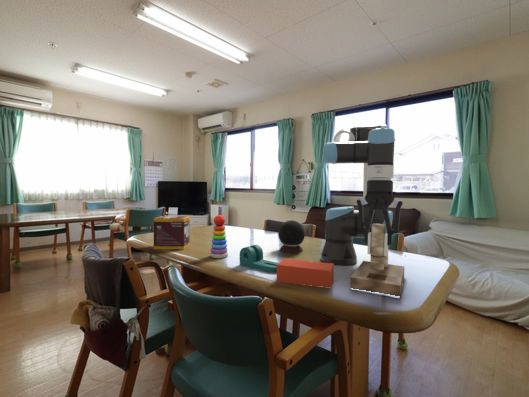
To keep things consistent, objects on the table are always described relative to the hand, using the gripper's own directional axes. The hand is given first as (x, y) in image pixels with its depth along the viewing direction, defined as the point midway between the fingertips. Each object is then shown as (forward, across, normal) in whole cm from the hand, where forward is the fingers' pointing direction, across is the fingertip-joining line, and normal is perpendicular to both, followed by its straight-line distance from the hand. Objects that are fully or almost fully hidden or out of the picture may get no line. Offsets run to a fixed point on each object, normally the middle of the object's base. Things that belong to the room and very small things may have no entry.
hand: (377, 253), depth 87 cm
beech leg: (+5, 0, 0) cm, 5 cm away
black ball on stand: (+11, -44, +33) cm, 56 cm away
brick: (+12, -22, -4) cm, 25 cm away
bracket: (+12, -42, +1) cm, 44 cm away
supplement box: (+11, -99, +7) cm, 100 cm away
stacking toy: (+11, -67, +5) cm, 68 cm away
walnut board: (+11, 0, +6) cm, 13 cm away
